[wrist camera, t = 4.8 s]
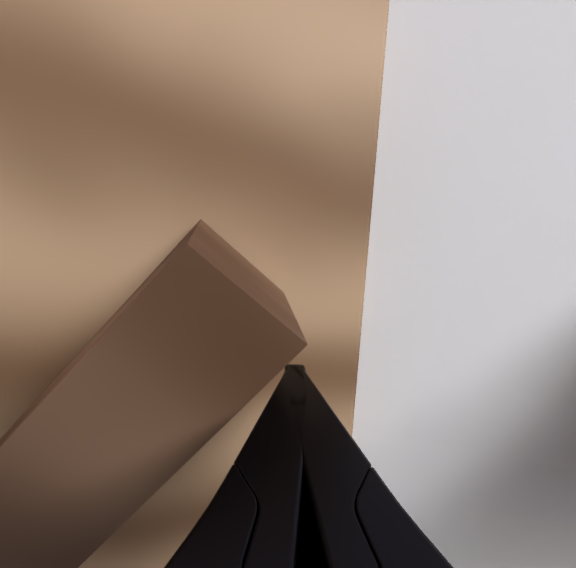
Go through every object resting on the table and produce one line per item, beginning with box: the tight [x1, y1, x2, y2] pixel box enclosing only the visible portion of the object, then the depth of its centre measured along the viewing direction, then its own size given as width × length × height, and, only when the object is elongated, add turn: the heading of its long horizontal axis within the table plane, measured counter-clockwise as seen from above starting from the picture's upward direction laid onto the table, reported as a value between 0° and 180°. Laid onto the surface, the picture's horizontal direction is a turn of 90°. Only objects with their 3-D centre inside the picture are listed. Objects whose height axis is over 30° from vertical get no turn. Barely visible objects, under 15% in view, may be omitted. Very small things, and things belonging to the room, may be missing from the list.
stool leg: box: [0, 219, 308, 568], centre depth 8 cm, size 18×3×3 cm, turn 135°
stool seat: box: [0, 0, 389, 568], centre depth 9 cm, size 20×18×4 cm
